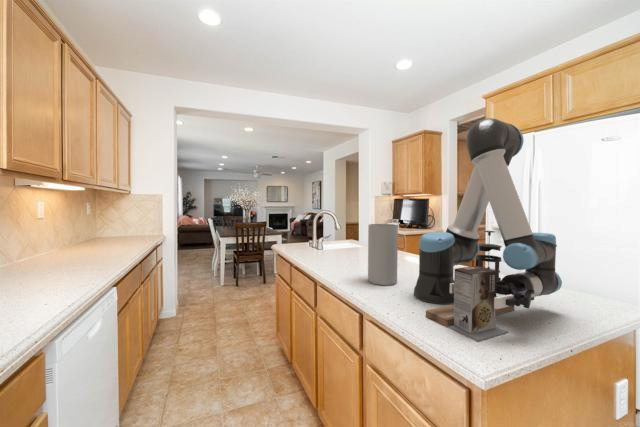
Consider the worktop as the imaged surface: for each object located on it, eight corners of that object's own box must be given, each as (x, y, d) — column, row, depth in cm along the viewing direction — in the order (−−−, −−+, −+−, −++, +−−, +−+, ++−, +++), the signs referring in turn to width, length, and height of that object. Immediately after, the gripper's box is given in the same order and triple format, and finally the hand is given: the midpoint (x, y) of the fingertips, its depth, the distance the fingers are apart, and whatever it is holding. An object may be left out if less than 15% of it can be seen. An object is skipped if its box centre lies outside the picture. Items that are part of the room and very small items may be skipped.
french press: (508, 288, 117) (509, 231, 117) (488, 289, 115) (489, 232, 115) (486, 280, 129) (487, 229, 128) (467, 281, 127) (468, 229, 126)
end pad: (448, 327, 80) (448, 326, 80) (477, 320, 85) (477, 319, 85) (478, 341, 72) (478, 340, 72) (508, 332, 77) (508, 331, 77)
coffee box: (476, 320, 84) (477, 265, 84) (496, 328, 78) (498, 270, 78) (452, 324, 81) (453, 267, 80) (471, 334, 75) (473, 273, 74)
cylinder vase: (387, 277, 134) (387, 223, 133) (402, 284, 122) (403, 225, 121) (362, 279, 130) (363, 224, 129) (377, 287, 118) (377, 226, 117)
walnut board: (425, 316, 87) (425, 309, 87) (490, 302, 100) (490, 296, 100) (447, 327, 80) (447, 319, 80) (514, 310, 93) (514, 304, 93)
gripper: (569, 313, 75) (518, 327, 67) (481, 287, 98) (435, 295, 89) (570, 284, 75) (519, 295, 66) (482, 265, 98) (435, 271, 89)
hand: (471, 295), depth 78 cm, fingers open, 13 cm apart
